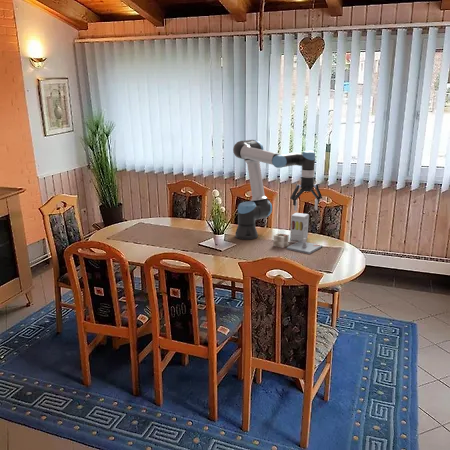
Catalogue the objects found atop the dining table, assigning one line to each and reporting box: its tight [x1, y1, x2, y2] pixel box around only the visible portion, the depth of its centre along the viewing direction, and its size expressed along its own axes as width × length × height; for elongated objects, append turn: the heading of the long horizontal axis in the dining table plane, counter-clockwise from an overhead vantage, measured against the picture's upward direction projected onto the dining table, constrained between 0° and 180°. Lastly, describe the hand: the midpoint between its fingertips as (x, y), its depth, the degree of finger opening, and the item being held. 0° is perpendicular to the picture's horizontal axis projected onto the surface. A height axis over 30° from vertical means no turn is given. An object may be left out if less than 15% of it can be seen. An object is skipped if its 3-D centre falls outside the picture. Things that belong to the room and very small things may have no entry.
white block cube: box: [272, 232, 290, 249], centre depth 294 cm, size 7×7×7 cm
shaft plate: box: [286, 238, 323, 255], centre depth 289 cm, size 16×17×6 cm
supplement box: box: [289, 212, 310, 242], centre depth 307 cm, size 10×9×17 cm
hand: (305, 210), depth 289 cm, fingers open, 13 cm apart
